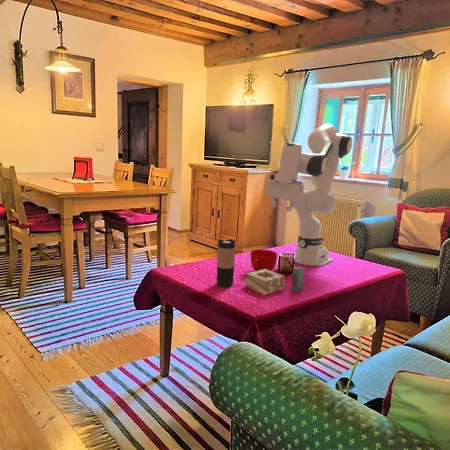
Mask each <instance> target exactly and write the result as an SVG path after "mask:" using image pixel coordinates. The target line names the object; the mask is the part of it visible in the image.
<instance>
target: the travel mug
mask: <svg viewBox="0 0 450 450" xmlns="http://www.w3.org/2000/svg"><path fill="white" fill-rule="evenodd" d="M235 251H236V241H235V240H233V239H229V238H228V239H226V240H223V239H221V238H220V239H219V240H218V241H217V254H216V255H217V257H216V258H217V261H216V286H218V287H220V288H232V287H233V285H234V275H235V260H236V259H235V257H236V255H235V254H236V252H235Z"/></svg>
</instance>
